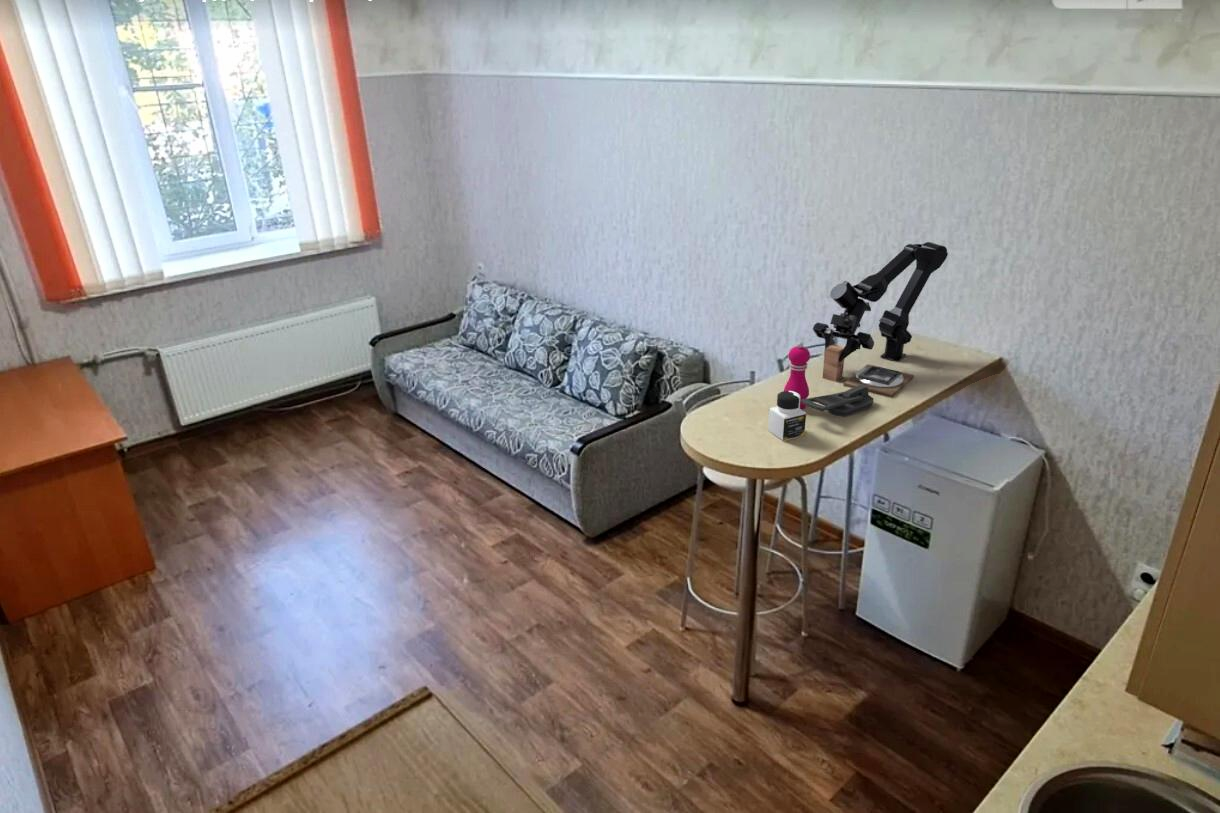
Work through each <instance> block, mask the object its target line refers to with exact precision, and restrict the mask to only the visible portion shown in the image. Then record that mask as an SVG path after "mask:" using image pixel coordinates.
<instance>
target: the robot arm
mask: <svg viewBox="0 0 1220 813" xmlns="http://www.w3.org/2000/svg"><path fill="white" fill-rule="evenodd" d="M948 255H949V253H948V249H947V247H946V246H945V245H941V244H937V243H934V242H931V241H927V242H925V243H915V244H912V243H908V244H906V245H905V246H904V247H903V249H902V250H901V251H900V252H899V253H897V255H896V256H894V258H892V259H891V260H890V261H889V262H888V263H887V264H886V265H884V267H882V268H881V269H880V270H879V271H878V272H876V273H873V274H871V275H869V276H867V277H865V278H863V279H862V280H861V281H859V283H857V284H854V285H852V284H851V283H850V282H849V281H847V280H843V281H842V283H838V284H837V285H835V286H833V287H832V288H831V290H830V293H829V297H830V298H831V299H832V300H833V301H834V302H835V303H836V304H837V305H838V306H839V307H840V308H841V309H844V312H843V313H842V312H841V313H840V315H839V314H835V313H833V314H832V316H831V320H830V325H833V328H834V329H831V328H830V326H829V325H828V324H827V323H822V322H816V323H815V324H814V325H813V327H812V331H813V332H814V334H815V335H816V337H817V338H821V339H823V340H824V349H825V348H827V347H829V346H830V345H832V344H833V345H836V342H835V340H834V338H840V339H844V340H846V343H845V346H843V347H844V349H843V351H842V353H841V355H840V357H839V362H841V361H842V360H843V359H844V360H845V359H846V358H847V357H848V356H850V355H851V354H852V353H854V352H855V351H857V350H861V347H862V349H864V350H865V349H866V350H869V351H871V350H873V348H874V346H875V341H874V339H873V337H872V335H871V333H867V332H862V331H859V332H858V333H856V332H857V329H858V328H860V327H861V324H860V323H861V321H862V319H863V316H864V314H865V312H871V311H872V308H871V306H870V302H871V303H876V302H878V301H879V300H880V299H881V298H882V297H883V296H884V294H886V292H887V290H888V288H889V285H890V284H891V283H892V282H893V281H894V280H895V279H896V278H897V277H898V276H900V274H902V273H903V272H904V271H905V270H906V269H907V268H908V267H909V266H911V265H912V264H913V262H915V264H916V265H915V266H916V267H915V269H914V271H913V273H912V274H911V277H910V278H909V280H908V282H907V284H906V285H905V287H904V289H903V291H902V293H901V295H900V296H899V298H898V300H897V302H896V304H895V306H894V307H892V308H891V309H890V310H887V309H886V310H884V311H883V313H882V315H881V316H882V317H881V318H880V319H879V321H878V322H879V324H878V329H879V332H880V336H881V337H883V338H884V339H885V338H886V341H885V347H884V353H882V354H881V355H880V358H881V357H882V359H887V360H891V361H896V362H900V361H901V360H903V359H904V358H905V357H906V356H907V353H904V347H905V345H907V344H908V343H910V342H911V340H912V338H913V335H912V334H911V333H910V332H909V331H908V327H909V324H910V321H909V320H910V318H909V316H910V313H911V311H912V310H913V308H914V306H915V304H916V302H917V300H918V298H919V296H921V295H920V294H921V292H922V291H923V289H924V287H925V286H926V284H927V283H928V282H927V281H928V280H929V278H930V276H931V275H932V274H933V273H934V272H935V271H937V270H938V269H939V268H941V266H942V265H943V264H944V262H945V261H946V259H947V258H948ZM865 300H866V301H865ZM867 301H868V302H867ZM855 333H856V334H855ZM823 352H824V354H823V355H824V356H825V351H823Z"/></svg>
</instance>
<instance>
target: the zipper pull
mask: <svg viewBox="0 0 1220 813" xmlns="http://www.w3.org/2000/svg"><path fill="white" fill-rule="evenodd" d="M801 403H803V404H804V405H806V407H809V408H811V409H813V410H815V411H819V412H823V413H824V412H826V411H827V413H829V415H832V416H834V417H838V418H839V417H840V418H847V417H850V416H853V415H856V414H859V413H861V412H865V411H867V410H871V409H872V408H873V406H874V397H872V396H870V395H869V392H868V388H867V387H866V386H863V385H859V386H856V387H854V388H849V389H848V390H847V389H846V390H844V391H840V392H837V393H832V394H826V395H821V396H820V395H819V396H813V397H807V398H806V399H802V400H801Z"/></svg>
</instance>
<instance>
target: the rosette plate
mask: <svg viewBox="0 0 1220 813" xmlns="http://www.w3.org/2000/svg"><path fill="white" fill-rule="evenodd" d="M869 365H870V366H869V367H868V368H865V369H862V368H861V369H859V370H858V371H857V372H856V373H855V374H856V379H857V381H859V382H860V383H862V384H864V385H867V386H870V387H876V388H893V387H897V386H899V385H901V384H902V383H903V376H902V375H901V372H902V371H900V370H896V369H895V370H894V369H890V368H887V369H886V368H885V367H882V366H877V365H874V364H873V365H872V364H869ZM899 371H900V372H899Z"/></svg>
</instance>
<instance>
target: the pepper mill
mask: <svg viewBox="0 0 1220 813" xmlns="http://www.w3.org/2000/svg"><path fill="white" fill-rule="evenodd" d="M787 356H788V357H787V358H788V360H789V367H788V368H789V369H790V374H789V378H788V379H787V382H786V383H785V386H784V388H783V391H793V392H796V393H798V394H799V395H800V409H801V410H804V409H805V408H807V406H806V405H804V404H803V403H801V400H802V399H807V398H809V395H810V388H809V385H808V381H807V378H806V370H807V369H808V362H809V361H810V358H811V354H810V350H809V349H808V348H806V347H805V346H804V343H803V342H802V341H798V342H797V343H796V346H794V347H792V348H791V349H790V350H789V351H788V355H787Z"/></svg>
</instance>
